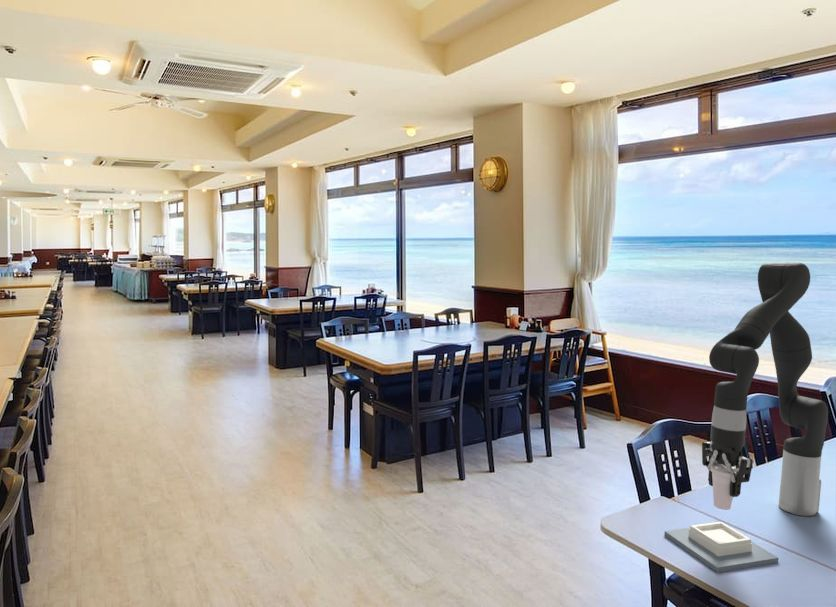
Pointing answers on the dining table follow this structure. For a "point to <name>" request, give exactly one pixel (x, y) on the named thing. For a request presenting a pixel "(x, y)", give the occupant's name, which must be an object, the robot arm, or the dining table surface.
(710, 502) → the dining table surface
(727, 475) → the smoothie
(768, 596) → the dining table surface
